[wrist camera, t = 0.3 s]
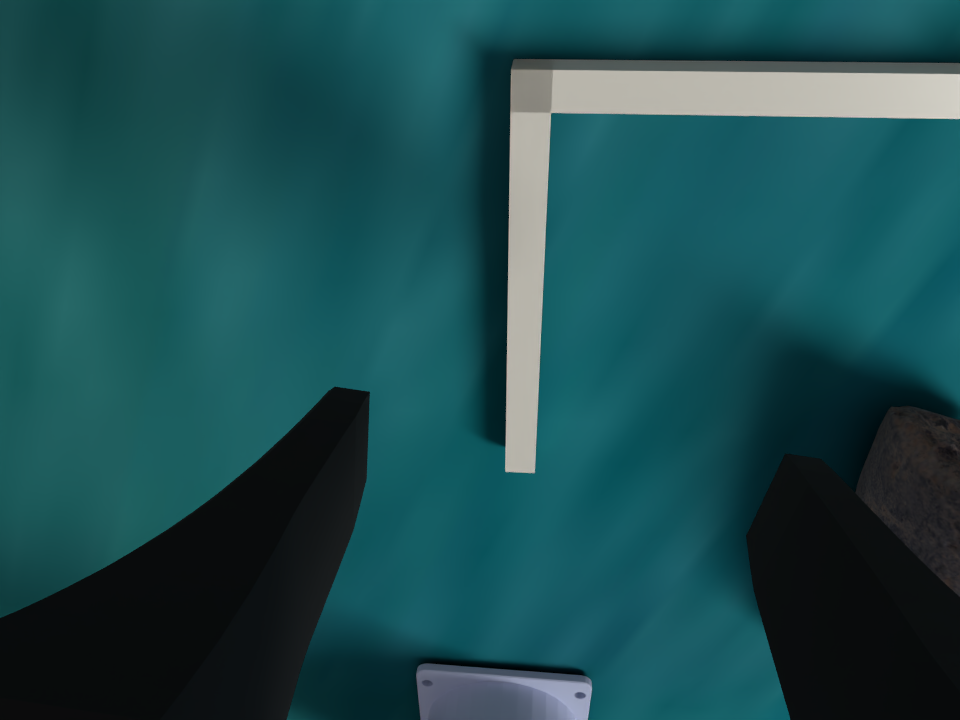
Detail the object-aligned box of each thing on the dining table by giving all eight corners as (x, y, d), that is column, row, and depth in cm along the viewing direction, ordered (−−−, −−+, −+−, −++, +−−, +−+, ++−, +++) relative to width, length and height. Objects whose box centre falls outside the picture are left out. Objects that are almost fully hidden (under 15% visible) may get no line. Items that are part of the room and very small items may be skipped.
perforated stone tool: (915, 654, 30) (1000, 838, 24) (784, 650, 31) (836, 829, 25) (1039, 355, 22) (1213, 527, 16) (855, 359, 22) (959, 526, 17)
